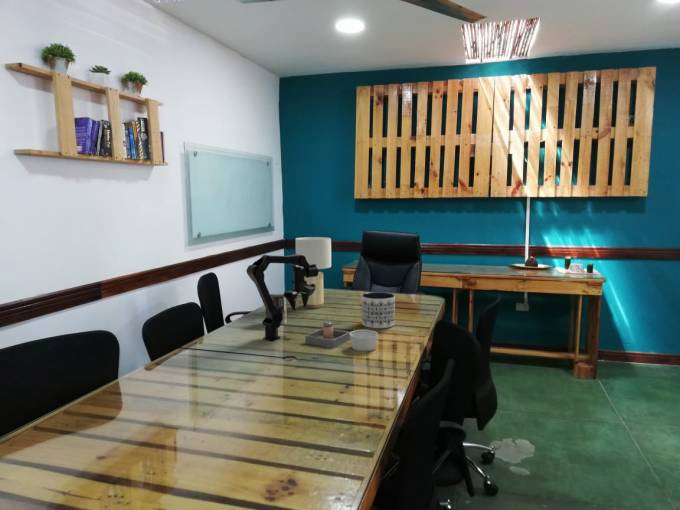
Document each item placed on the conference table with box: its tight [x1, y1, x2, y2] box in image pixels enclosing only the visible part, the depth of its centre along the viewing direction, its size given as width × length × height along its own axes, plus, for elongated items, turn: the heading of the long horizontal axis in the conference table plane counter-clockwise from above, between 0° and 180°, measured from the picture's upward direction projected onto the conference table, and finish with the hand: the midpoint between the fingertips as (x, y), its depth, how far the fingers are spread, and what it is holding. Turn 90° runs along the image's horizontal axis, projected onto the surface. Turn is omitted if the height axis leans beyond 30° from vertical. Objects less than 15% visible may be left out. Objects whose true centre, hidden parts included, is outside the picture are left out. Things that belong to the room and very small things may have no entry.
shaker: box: [322, 321, 334, 340], centre depth 229 cm, size 5×5×8 cm
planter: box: [361, 291, 396, 329], centre depth 259 cm, size 18×18×16 cm
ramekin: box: [349, 329, 379, 352], centre depth 218 cm, size 13×13×7 cm
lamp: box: [295, 236, 332, 309], centre depth 303 cm, size 23×23×44 cm
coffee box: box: [270, 293, 288, 325], centre depth 264 cm, size 9×6×16 cm
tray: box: [304, 327, 351, 349], centre depth 229 cm, size 16×16×4 cm
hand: (299, 308), depth 243 cm, fingers open, 9 cm apart
